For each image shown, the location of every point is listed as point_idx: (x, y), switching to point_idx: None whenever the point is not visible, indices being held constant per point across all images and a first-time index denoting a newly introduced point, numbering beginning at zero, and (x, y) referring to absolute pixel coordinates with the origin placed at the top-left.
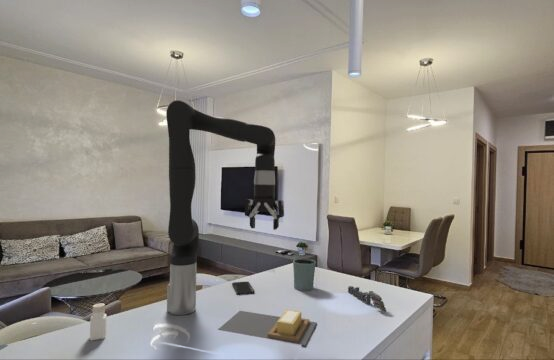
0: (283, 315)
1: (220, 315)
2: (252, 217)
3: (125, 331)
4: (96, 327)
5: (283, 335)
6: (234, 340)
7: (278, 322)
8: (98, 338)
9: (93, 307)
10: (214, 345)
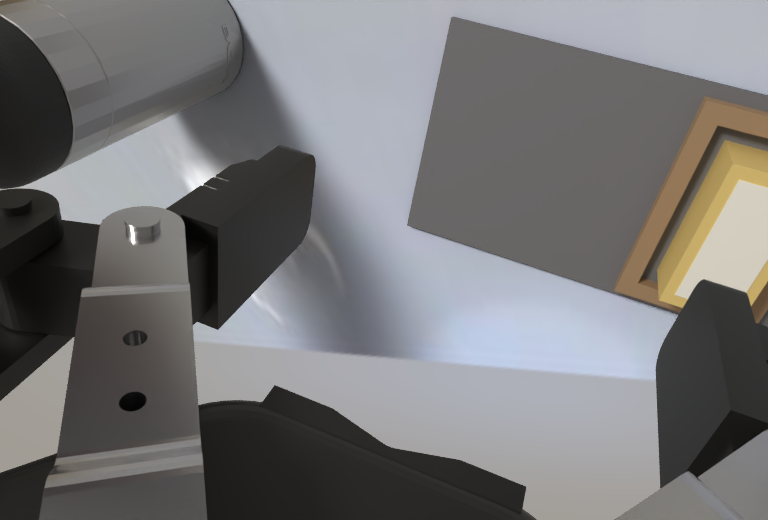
0: (700, 238)
1: (371, 72)
2: (194, 313)
3: None
4: None
5: None
6: (487, 287)
7: (665, 301)
8: None
9: None
10: (430, 313)
